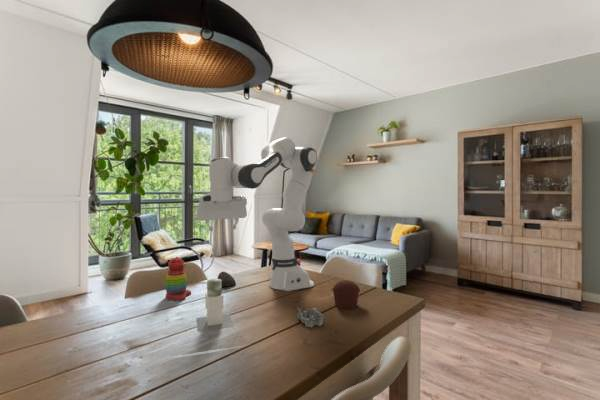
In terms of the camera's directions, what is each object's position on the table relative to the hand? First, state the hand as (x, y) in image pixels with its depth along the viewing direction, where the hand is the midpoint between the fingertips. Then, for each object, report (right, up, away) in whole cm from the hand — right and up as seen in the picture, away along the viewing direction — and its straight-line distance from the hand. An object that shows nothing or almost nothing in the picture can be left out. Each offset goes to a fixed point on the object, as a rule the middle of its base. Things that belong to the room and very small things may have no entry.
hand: (222, 230), depth 131 cm
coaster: (+1, -32, -17) cm, 36 cm away
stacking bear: (-24, -32, +12) cm, 41 cm away
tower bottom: (+1, -31, -17) cm, 36 cm away
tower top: (+1, -26, -18) cm, 32 cm away
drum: (+1, -21, -18) cm, 28 cm away
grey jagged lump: (+36, -32, -15) cm, 51 cm away
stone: (-6, -31, +29) cm, 43 cm away
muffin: (+51, -32, +1) cm, 60 cm away
